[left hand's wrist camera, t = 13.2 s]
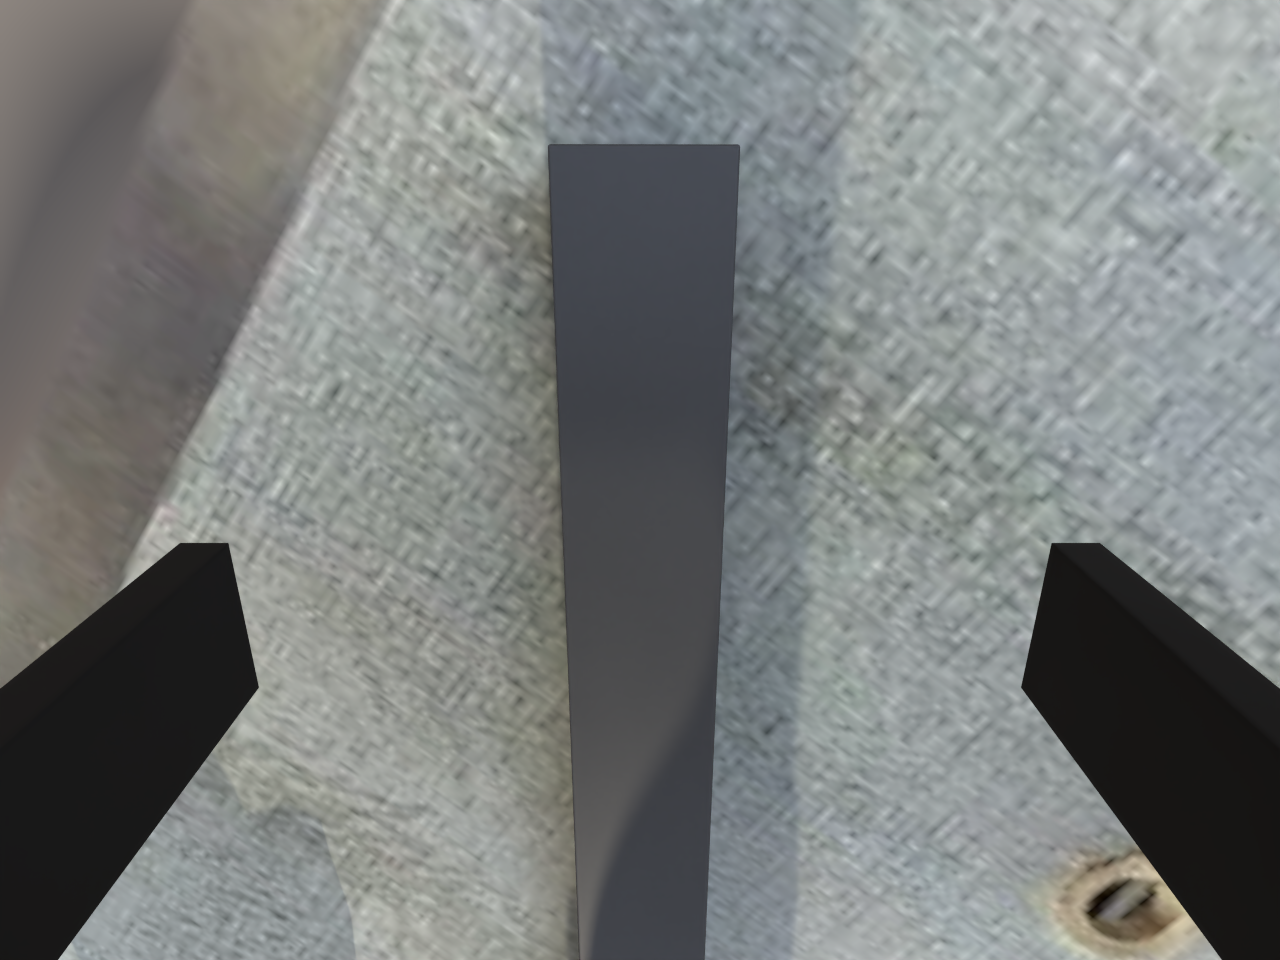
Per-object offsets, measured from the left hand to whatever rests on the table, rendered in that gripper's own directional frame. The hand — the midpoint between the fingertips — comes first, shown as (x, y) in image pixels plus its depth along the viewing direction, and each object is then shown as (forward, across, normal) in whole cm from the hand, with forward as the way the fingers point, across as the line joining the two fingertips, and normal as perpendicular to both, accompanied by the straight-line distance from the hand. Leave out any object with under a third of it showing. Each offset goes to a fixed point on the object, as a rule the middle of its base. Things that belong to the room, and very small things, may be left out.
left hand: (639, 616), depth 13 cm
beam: (+22, 0, -18) cm, 28 cm away
